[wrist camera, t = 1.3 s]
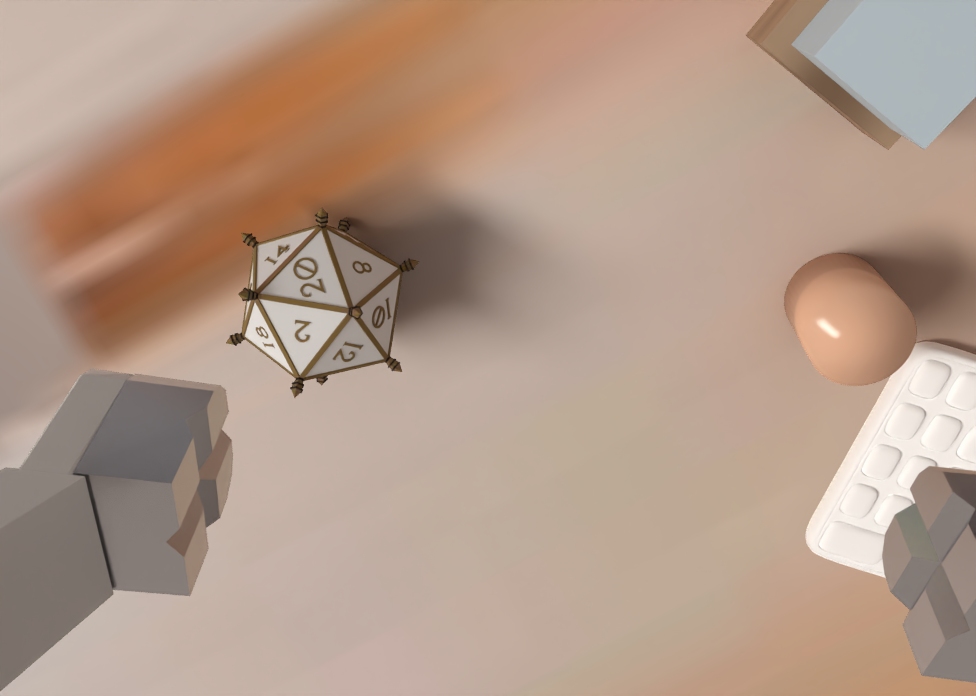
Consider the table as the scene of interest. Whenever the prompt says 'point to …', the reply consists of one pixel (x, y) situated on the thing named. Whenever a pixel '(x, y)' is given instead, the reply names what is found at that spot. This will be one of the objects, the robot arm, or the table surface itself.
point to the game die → (321, 302)
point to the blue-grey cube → (899, 59)
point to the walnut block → (776, 34)
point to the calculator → (898, 454)
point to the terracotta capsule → (849, 320)
